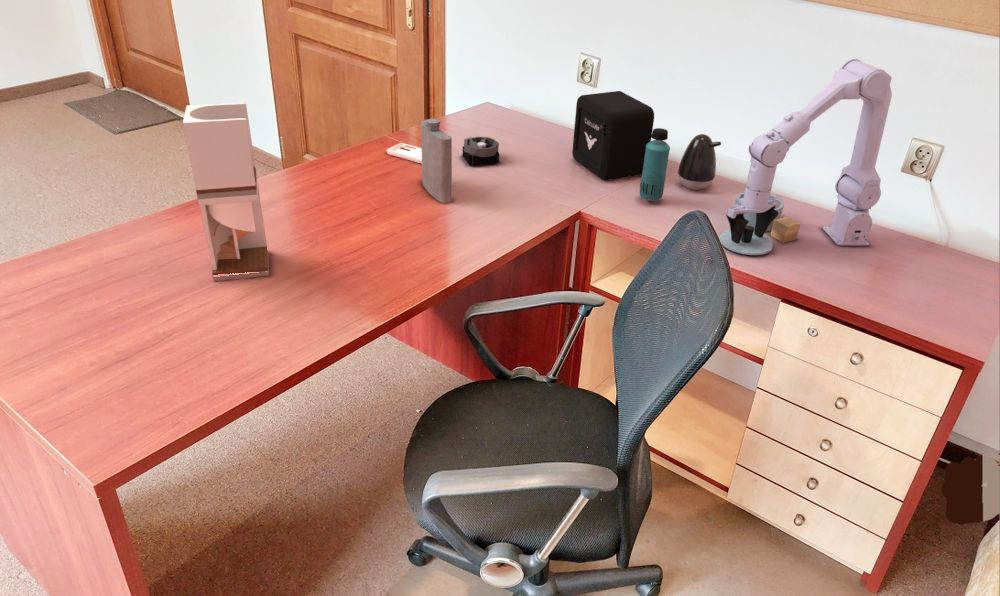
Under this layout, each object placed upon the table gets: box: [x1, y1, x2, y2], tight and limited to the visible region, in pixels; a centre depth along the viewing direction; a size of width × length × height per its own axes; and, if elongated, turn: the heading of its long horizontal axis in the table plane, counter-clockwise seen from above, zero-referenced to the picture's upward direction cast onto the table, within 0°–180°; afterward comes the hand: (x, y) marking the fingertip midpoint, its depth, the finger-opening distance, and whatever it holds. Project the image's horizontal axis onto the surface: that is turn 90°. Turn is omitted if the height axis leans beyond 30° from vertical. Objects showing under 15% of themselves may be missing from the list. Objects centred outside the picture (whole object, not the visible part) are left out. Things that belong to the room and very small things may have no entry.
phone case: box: [386, 142, 422, 165], centre depth 227 cm, size 7×1×15 cm
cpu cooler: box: [462, 136, 500, 167], centre depth 224 cm, size 10×6×10 cm
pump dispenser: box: [677, 133, 722, 191], centre depth 210 cm, size 10×10×15 cm
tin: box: [734, 191, 785, 232], centre depth 195 cm, size 12×12×6 cm
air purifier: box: [571, 90, 655, 182], centre depth 219 cm, size 20×15×20 cm
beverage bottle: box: [639, 127, 671, 201], centre depth 200 cm, size 6×7×20 cm
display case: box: [182, 102, 270, 282], centre depth 159 cm, size 11×11×35 cm
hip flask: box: [420, 118, 453, 204], centre depth 200 cm, size 16×4×20 cm, turn 26°
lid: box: [718, 226, 774, 256], centre depth 184 cm, size 13×13×5 cm
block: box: [770, 216, 801, 244], centre depth 188 cm, size 4×4×4 cm
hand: (746, 238), depth 184 cm, fingers open, 7 cm apart
